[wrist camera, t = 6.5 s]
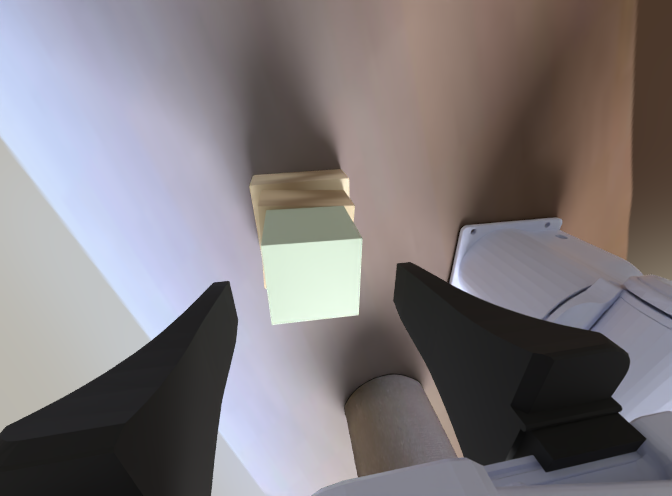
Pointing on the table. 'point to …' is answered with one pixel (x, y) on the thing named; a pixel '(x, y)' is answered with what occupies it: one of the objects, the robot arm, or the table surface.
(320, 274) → the sage cube
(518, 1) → the table surface
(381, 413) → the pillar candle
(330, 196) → the beige square block
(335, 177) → the base slab
